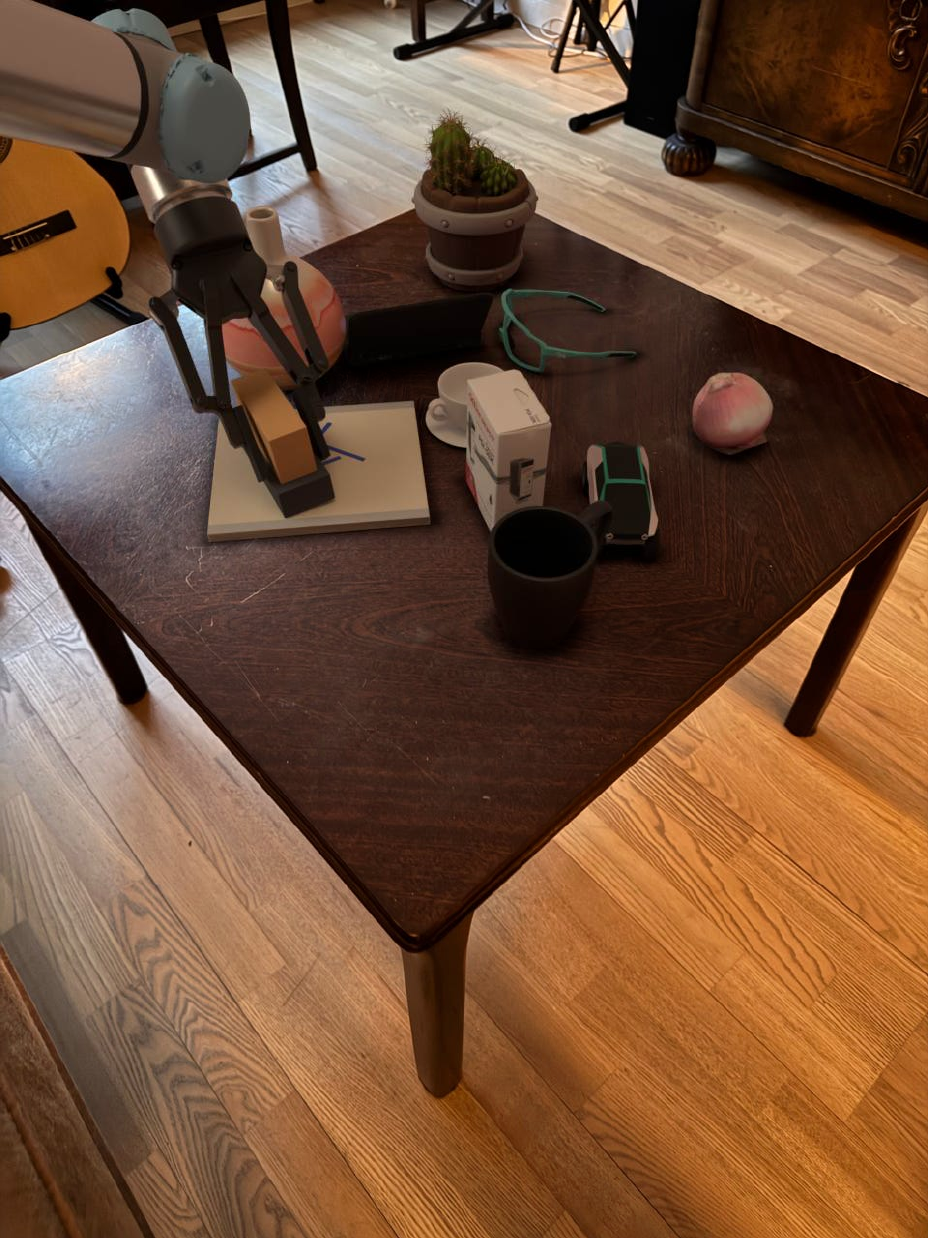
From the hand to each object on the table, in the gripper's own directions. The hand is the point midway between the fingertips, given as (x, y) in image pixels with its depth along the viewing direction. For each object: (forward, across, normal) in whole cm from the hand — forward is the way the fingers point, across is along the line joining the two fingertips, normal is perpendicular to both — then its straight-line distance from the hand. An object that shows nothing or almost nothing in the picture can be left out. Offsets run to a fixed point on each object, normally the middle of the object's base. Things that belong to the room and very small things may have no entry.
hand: (294, 468), depth 78 cm
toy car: (+15, -25, +8) cm, 30 cm away
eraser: (0, 0, -5) cm, 5 cm away
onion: (+12, -41, +4) cm, 43 cm away
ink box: (+10, -17, +3) cm, 19 cm away
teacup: (+1, -20, -6) cm, 21 cm away
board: (0, -3, -6) cm, 7 cm away
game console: (-10, -21, -17) cm, 29 cm away
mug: (+19, -13, +13) cm, 27 cm away
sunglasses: (-5, -37, -12) cm, 39 cm away
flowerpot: (-18, -36, -25) cm, 47 cm away
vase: (-11, -7, -18) cm, 22 cm away
